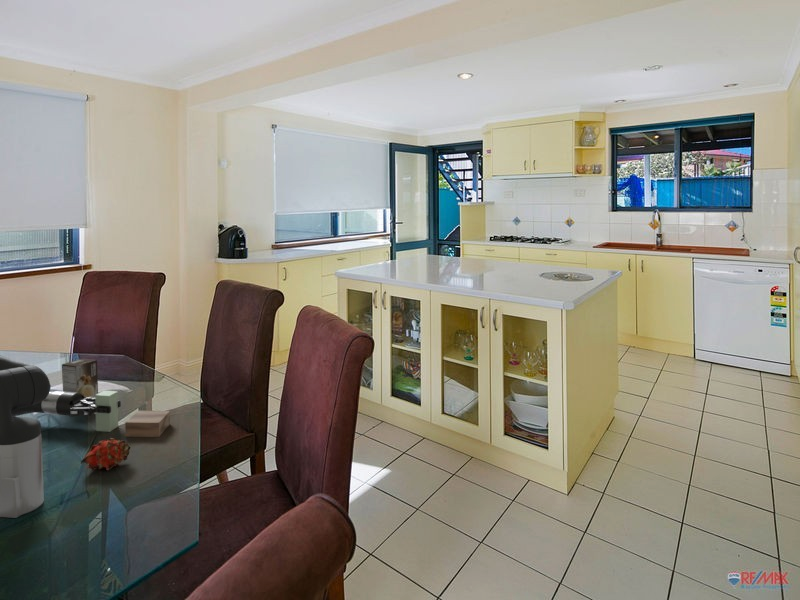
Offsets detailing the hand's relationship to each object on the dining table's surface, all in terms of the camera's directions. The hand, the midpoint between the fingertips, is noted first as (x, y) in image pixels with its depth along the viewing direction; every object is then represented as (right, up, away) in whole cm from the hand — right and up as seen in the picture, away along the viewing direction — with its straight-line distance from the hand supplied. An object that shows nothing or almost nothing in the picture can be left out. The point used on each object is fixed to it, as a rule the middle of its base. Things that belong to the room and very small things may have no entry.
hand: (115, 406), depth 154 cm
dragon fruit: (+11, -12, -23) cm, 28 cm away
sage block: (-3, -7, +1) cm, 8 cm away
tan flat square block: (+10, -8, +2) cm, 13 cm away
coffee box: (-24, -4, +19) cm, 31 cm away
